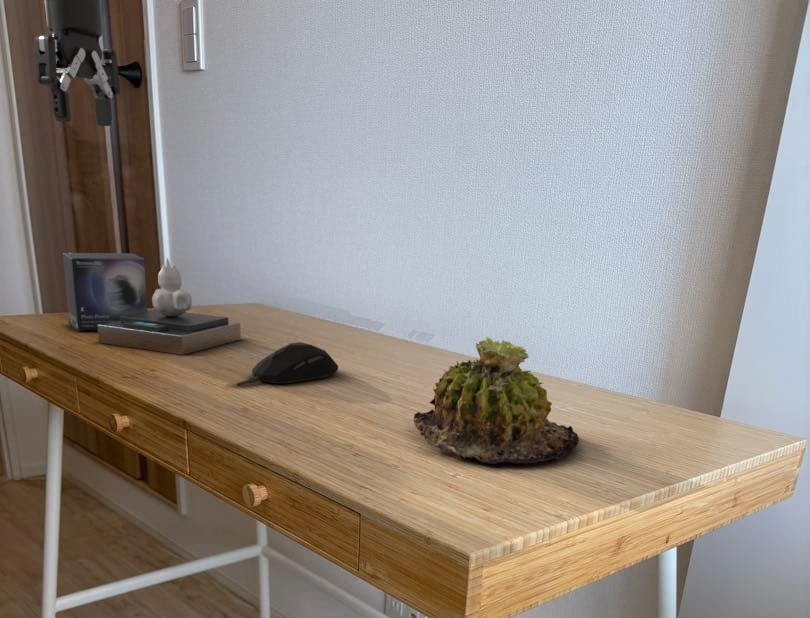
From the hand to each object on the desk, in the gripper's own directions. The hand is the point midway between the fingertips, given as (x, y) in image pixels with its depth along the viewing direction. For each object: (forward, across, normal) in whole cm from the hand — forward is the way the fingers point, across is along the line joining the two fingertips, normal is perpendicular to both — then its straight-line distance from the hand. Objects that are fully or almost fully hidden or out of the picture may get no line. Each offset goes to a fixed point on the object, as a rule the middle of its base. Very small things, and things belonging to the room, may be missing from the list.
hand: (84, 123), depth 123 cm
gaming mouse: (+28, +21, +46) cm, 58 cm away
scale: (+28, +10, +21) cm, 36 cm away
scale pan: (+26, +9, +21) cm, 34 cm away
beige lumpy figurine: (+25, +9, +21) cm, 34 cm away
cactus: (+28, +33, +76) cm, 88 cm away
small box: (+28, +6, +7) cm, 30 cm away
